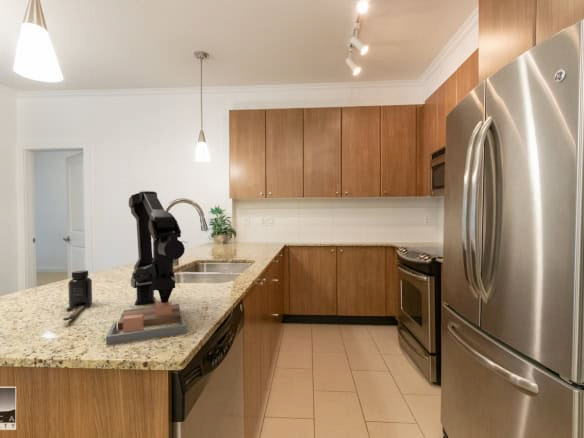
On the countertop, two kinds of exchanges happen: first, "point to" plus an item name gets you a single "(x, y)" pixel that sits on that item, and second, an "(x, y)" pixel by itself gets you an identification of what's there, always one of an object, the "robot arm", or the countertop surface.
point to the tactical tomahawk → (76, 311)
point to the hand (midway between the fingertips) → (164, 305)
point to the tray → (144, 333)
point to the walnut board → (152, 316)
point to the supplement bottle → (80, 289)
